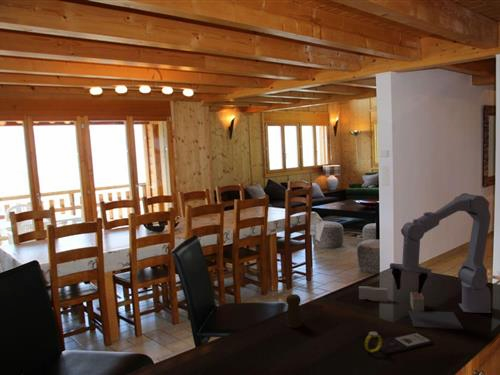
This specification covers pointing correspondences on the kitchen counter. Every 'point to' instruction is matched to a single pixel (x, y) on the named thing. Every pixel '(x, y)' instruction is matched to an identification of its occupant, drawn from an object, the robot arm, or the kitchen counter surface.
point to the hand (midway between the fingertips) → (408, 290)
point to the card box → (416, 301)
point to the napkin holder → (373, 293)
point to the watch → (371, 334)
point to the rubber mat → (435, 320)
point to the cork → (293, 311)
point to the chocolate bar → (401, 343)
